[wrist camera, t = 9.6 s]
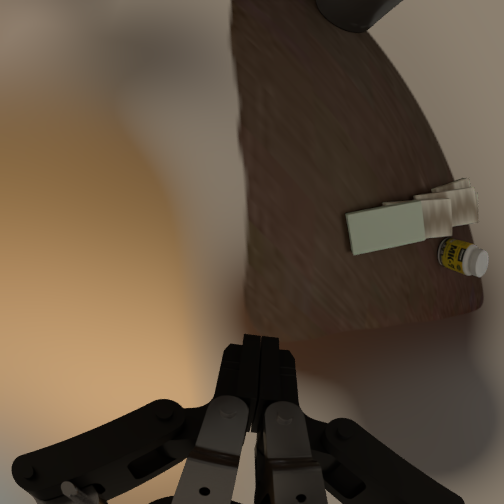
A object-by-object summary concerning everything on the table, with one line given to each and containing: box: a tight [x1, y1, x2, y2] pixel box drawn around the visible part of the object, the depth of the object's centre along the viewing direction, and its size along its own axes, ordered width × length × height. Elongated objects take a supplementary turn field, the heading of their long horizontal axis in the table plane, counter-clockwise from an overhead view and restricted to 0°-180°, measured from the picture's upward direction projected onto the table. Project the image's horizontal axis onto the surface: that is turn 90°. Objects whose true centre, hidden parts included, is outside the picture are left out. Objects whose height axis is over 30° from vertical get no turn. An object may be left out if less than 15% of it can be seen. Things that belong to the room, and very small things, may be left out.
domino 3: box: [431, 178, 470, 193], centre depth 35 cm, size 5×2×10 cm
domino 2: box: [382, 198, 452, 238], centre depth 31 cm, size 5×2×10 cm
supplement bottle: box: [438, 238, 489, 277], centre depth 32 cm, size 5×5×8 cm
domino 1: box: [345, 200, 425, 255], centre depth 31 cm, size 5×2×10 cm
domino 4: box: [413, 187, 478, 227], centre depth 31 cm, size 5×2×10 cm
